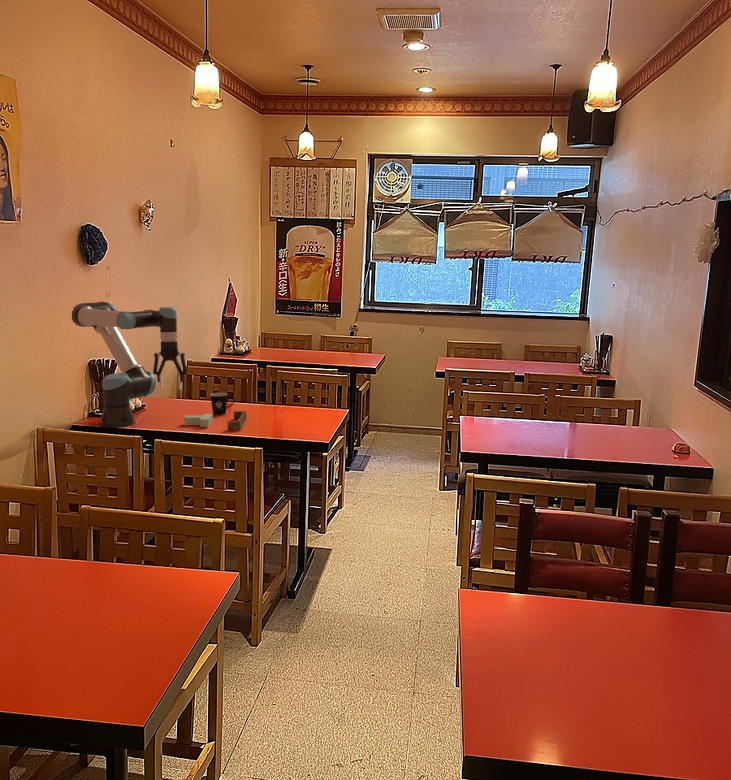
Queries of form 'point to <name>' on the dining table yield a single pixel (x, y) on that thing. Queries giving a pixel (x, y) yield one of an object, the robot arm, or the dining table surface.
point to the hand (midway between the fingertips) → (171, 388)
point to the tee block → (199, 420)
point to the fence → (237, 424)
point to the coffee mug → (220, 403)
